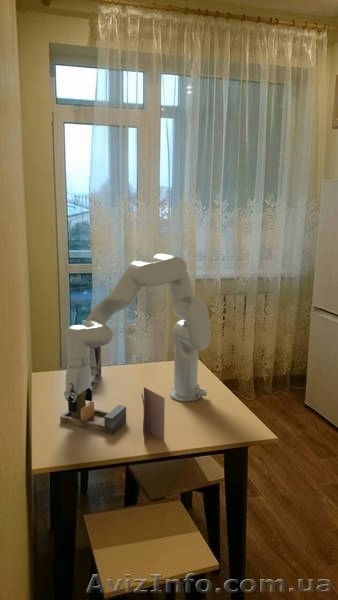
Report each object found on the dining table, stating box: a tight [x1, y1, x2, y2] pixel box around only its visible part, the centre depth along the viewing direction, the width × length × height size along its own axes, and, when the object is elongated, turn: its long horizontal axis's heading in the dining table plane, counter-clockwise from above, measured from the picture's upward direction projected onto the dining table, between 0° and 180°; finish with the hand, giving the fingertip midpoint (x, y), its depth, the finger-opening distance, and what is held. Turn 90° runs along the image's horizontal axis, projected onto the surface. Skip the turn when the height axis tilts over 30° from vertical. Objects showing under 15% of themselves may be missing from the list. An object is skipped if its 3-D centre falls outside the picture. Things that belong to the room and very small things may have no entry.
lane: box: [59, 404, 127, 436], centre depth 153 cm, size 21×10×6 cm, turn 68°
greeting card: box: [140, 386, 165, 441], centre depth 144 cm, size 11×7×15 cm, turn 4°
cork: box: [71, 390, 87, 419], centre depth 155 cm, size 6×6×11 cm
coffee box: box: [89, 346, 102, 384], centre depth 192 cm, size 9×6×16 cm
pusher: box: [81, 400, 95, 420], centre depth 154 cm, size 1×7×5 cm, turn 158°
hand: (80, 405), depth 155 cm, fingers open, 9 cm apart
